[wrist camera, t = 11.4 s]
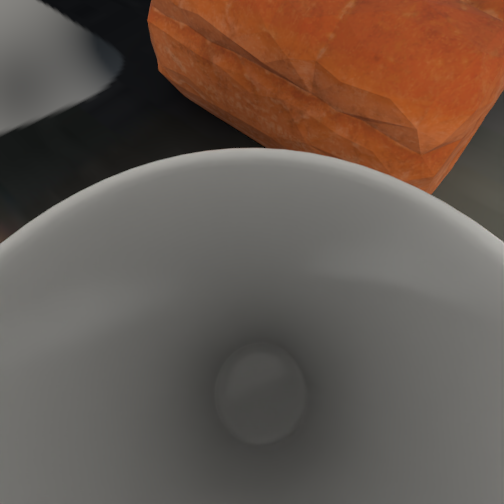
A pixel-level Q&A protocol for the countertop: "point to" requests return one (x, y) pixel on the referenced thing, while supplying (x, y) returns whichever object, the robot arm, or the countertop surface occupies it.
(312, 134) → the bread
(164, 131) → the countertop surface
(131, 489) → the white tumbler
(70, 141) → the countertop surface
